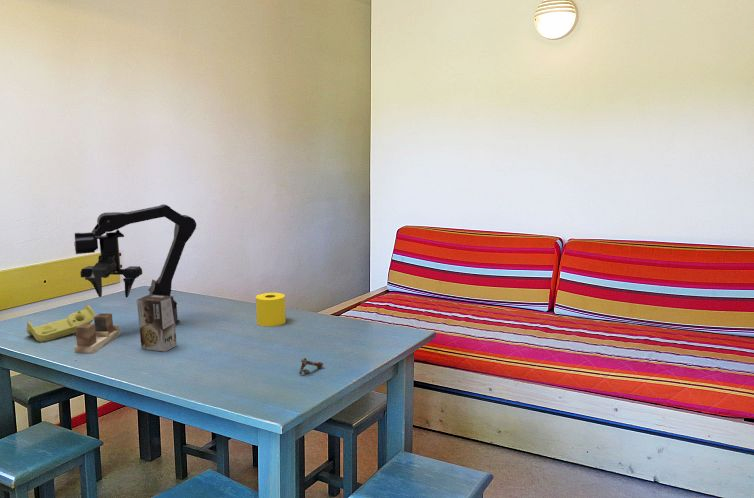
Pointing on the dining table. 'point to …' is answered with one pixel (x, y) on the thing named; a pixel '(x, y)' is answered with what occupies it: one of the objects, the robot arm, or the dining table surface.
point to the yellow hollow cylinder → (270, 309)
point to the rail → (97, 345)
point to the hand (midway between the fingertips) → (113, 297)
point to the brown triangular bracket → (319, 364)
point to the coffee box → (157, 322)
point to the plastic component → (61, 325)
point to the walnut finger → (103, 323)
